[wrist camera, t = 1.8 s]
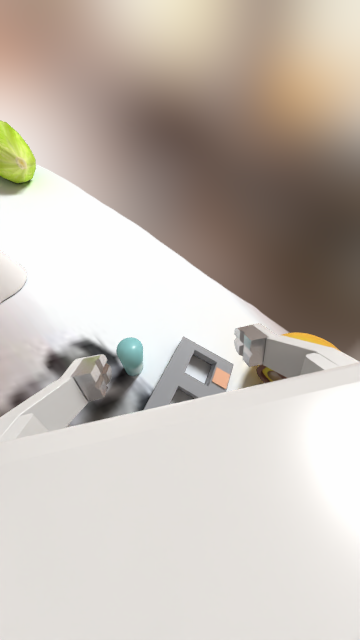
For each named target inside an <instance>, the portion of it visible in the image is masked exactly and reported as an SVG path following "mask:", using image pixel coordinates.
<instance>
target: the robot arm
mask: <svg viewBox="0 0 360 640" xmlns="http://www.w3.org/2000/svg"><path fill="white" fill-rule="evenodd" d="M26 279H27V272H26V270H25V269H24V267H23V266H21V265H20V264H18V263H17V262H15V261H14V260H12V259H11V258H10V257H8V256H7V255H6V254H4V253H3V252H2V251H1V250H0V303H1V302H2V301H3V300H5V299H7V298H8V297H10V296H12V295H13V294H15V293H16V292H17V291H19V290H20V289H21V288H22V287H23V285H24V284H25V282H26ZM235 335H236V339H235V340H234V343H235V349H236V351H237V352H238V354H239V355H241V356H243V360H244V361H245V363H246V364H247V365H248V366H249V367H251V366H256V365H262V364H263V365H264V366H266V367H268V368H270V369H272V370H274V371H275V372H277V373H279V374H281V375H283V376H285V377H287V378H286V379H282V380H277V381H273V382H269V383H264V384H260V385H255V386H251V387H246V388H242V389H237V390H232V391H228V392H223V393H219V394H214V395H210V396H205V397H201V398H196V399H192V400H187V401H183V402H178V403H174V404H170V405H165V406H161V407H156V408H152V409H147V410H143V411H138V412H134V413H129V414H125V415H120V416H116V417H111V418H107V419H102V420H98V421H93V422H89V423H84V424H80V425H75V426H71V427H66V426H67V425H68V424H69V423H70V422H71V421H72V420H73V419H74V418H75V417H76V415H77V414H78V413H79V412H80V411H81V410H82V409H83V408H84V407H85V405H86V404H87V403H88V402H89V401H93V400H97V399H101V398H104V396H105V394H106V391H107V389H108V387H107V384H108V383H109V382H110V381H111V378H112V371H111V367H110V365H108V364H106V361H107V359H106V357H105V355H103V354H101V355H96V356H90V357H84V358H79V359H76V360H74V362H73V363H72V364H71V365H70V367H69V368H68V369H67V370H66V372H65V373H64V374H63V375H62V377H61V378H60V379H59V380H56V381H54V382H53V383H51V384H50V385H48V386H47V387H45V388H44V389H42V390H41V391H39V392H38V393H36V394H35V395H33V396H32V397H30V398H29V399H27V400H26V401H24V402H23V403H21V404H20V405H18V406H17V407H15V408H14V409H12V410H11V411H9V412H8V413H6V414H5V415H3V416H2V417H0V640H360V362H359V361H357V360H355V359H353V358H351V357H350V356H348V355H346V354H344V353H342V352H340V351H339V350H337V349H335V348H332V347H327V346H323V345H319V344H315V343H311V342H307V341H303V340H299V339H295V338H291V337H287V336H283V335H277V334H275V333H274V332H272V331H271V330H269V329H268V328H266V327H265V326H263V325H262V324H259V323H258V324H253V325H249V326H245V327H240V328H236V329H235Z"/></svg>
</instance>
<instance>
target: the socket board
mask: <svg viewBox="0 0 360 640" xmlns="http://www.w3.org/2000/svg"><path fill="white" fill-rule="evenodd" d="M192 355H195V356H196V357H198V358H200V359H202V360H203V361H205V362H207V363H209V364H211V365H212V366H211V369H210V371H209V374H208V377H207V380H206V382H205V384H204V383H202V382H200V381H199V380H197V379H195V378H193V377H192V376H190V375H188V374H186V373H185V370H186V368H187V366H188V364H189V361H190V359H191V357H192ZM233 365H234V364H232V363H230V362H228V361H226V360H225V359H223V358H221V357H219V356H218V355H216V354H214V353H212V352H210V351H209V350H207V349H205V348H203V347H201V346H200V345H198V344H196V343H194V342H192V341H191V340H189V339H187V338H185V337H183V338H182V340H181V342H180V343H179V345H178V347H177V349H176V351H175V353H174V354H173V356H172V358H171V360H170V362H169V364H168V365H167V367H166V369H165V371H164V373H163V375H162V377H161V378H160V380H159V382H158V384H157V386H156V388H155V389H154V391H153V393H152V395H151V397H150V399H149V400H148V402H147V404H146V406H145V408H144V410H147V409H152V408H156V407H161V406H165V405H170V403H171V401H172V398H173V396H174V394H175V392H176V390H177V388H178V389H180V390H181V391H183V392H185V393H186V394H188V395H190V396H192V397H193V398H195V399H196V398H201V397H205V396H210V395H214V394H219V393H223V392H226V390H227V386H228V383H229V379H230V375H231V372H232V368H233Z"/></svg>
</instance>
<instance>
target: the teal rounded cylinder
mask: <svg viewBox="0 0 360 640" xmlns="http://www.w3.org/2000/svg"><path fill="white" fill-rule="evenodd" d="M117 355H118V357H119V359H120V361H121V363H122V365H123V367H124V369H125V370H126V372H127V374H128V375H130V376H136V375H138V374H140V373H141V371H142V369H143V346H142V344H141V342H140V341H139V340H138V339H136V338H126V339H124V340H122V341H121V342H120V343H119V344H118V346H117Z"/></svg>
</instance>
